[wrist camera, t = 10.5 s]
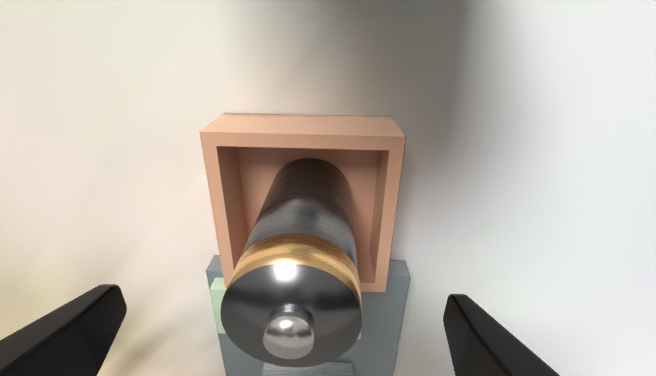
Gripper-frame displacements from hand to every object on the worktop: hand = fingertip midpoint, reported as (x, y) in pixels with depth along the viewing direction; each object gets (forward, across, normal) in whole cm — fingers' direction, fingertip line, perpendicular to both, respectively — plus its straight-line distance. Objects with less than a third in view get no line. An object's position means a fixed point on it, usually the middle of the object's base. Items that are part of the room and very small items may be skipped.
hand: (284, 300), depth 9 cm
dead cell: (+6, 0, 0) cm, 6 cm away
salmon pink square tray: (+7, 0, 0) cm, 7 cm away
